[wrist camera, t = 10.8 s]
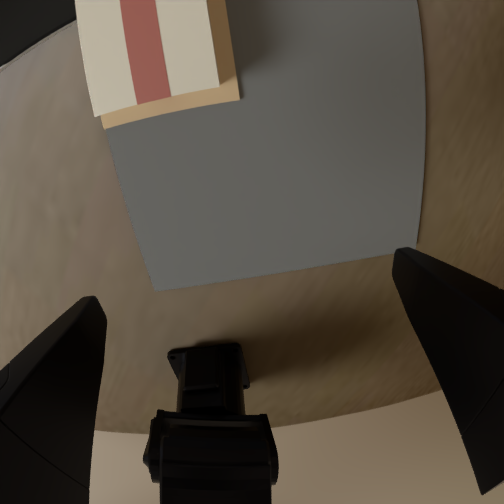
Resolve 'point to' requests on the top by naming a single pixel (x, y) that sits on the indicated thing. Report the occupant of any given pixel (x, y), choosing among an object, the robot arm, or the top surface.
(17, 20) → the smartphone
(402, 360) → the top surface
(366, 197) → the mat
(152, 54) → the card box
